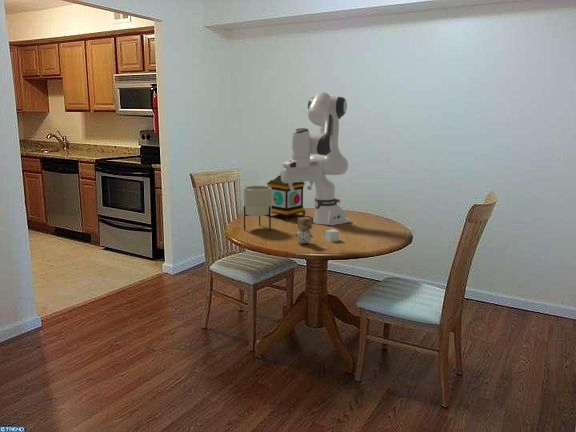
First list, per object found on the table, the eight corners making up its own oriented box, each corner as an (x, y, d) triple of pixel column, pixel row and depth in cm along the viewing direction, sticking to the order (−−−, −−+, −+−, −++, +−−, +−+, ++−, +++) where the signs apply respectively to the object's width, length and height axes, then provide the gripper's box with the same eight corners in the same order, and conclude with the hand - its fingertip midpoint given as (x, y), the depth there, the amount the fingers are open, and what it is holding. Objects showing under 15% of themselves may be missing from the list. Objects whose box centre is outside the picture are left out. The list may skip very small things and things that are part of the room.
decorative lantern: (263, 216, 289) (262, 167, 282) (284, 211, 303) (285, 165, 296) (286, 221, 275) (287, 170, 269) (308, 216, 290) (309, 167, 283)
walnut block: (306, 226, 230) (306, 216, 229) (311, 228, 226) (311, 218, 225) (297, 227, 228) (297, 217, 227) (302, 229, 224) (302, 219, 223)
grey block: (333, 238, 239) (334, 229, 238) (338, 240, 234) (339, 231, 233) (325, 239, 237) (325, 230, 235) (330, 242, 232) (330, 232, 231)
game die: (299, 250, 230) (290, 233, 232) (314, 243, 232) (305, 225, 234) (302, 246, 222) (293, 228, 224) (318, 238, 224) (308, 220, 226)
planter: (239, 227, 260) (238, 186, 255) (264, 224, 267) (264, 184, 262) (249, 233, 247) (248, 190, 242) (276, 230, 254) (276, 188, 249)
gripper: (316, 160, 232) (316, 187, 236) (279, 163, 224) (279, 191, 227) (322, 162, 227) (322, 189, 230) (285, 164, 218) (285, 193, 222)
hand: (301, 190), depth 229 cm, fingers open, 8 cm apart
